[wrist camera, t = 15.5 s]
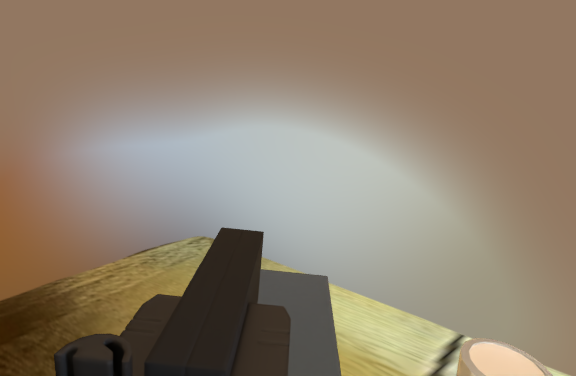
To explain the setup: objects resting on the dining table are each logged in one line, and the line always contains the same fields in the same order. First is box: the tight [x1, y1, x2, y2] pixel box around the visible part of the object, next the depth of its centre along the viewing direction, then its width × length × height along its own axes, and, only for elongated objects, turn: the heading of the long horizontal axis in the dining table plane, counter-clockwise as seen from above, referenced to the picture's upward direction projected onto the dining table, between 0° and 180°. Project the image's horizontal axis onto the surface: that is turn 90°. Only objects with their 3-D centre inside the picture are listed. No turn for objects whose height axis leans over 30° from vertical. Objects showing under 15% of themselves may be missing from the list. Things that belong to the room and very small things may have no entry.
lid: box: [186, 265, 341, 376], centre depth 26 cm, size 16×12×1 cm
